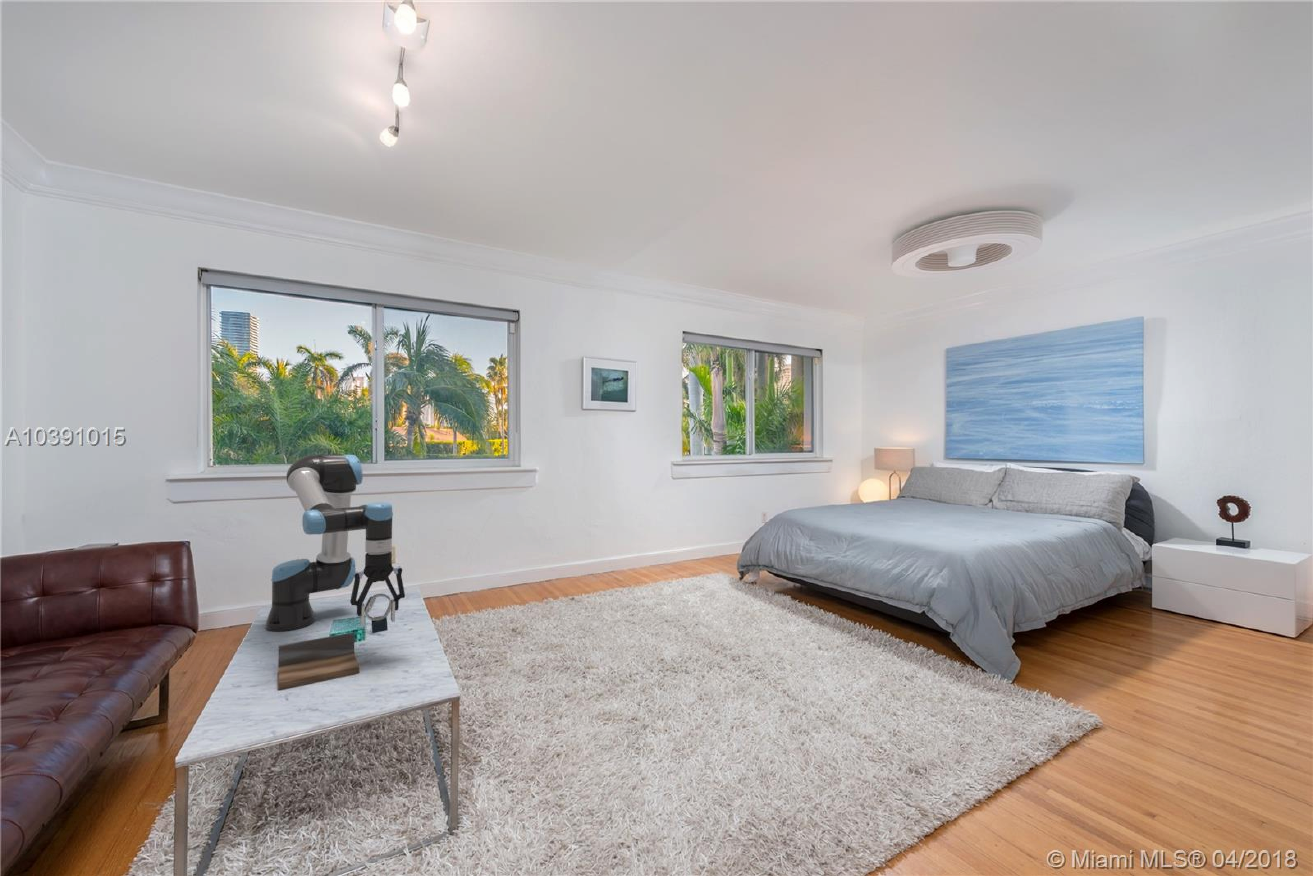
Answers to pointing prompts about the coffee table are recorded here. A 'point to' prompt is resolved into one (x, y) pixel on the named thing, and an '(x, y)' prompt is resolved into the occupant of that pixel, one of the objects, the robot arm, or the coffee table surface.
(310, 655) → the display stand
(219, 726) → the coffee table surface
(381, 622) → the watch
